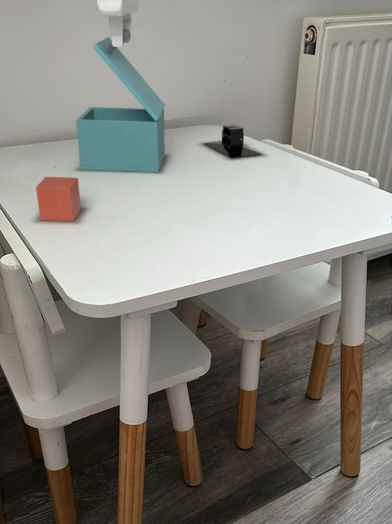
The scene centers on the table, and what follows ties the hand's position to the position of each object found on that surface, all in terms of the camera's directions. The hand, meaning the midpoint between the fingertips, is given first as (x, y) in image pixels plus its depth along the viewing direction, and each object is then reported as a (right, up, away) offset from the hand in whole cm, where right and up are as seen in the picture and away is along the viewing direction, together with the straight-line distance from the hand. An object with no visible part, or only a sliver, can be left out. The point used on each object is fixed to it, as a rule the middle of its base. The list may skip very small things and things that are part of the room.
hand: (121, 44), depth 97 cm
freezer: (-1, -17, +11) cm, 20 cm away
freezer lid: (+1, -5, +3) cm, 6 cm away
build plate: (+21, -11, +21) cm, 31 cm away
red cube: (-8, -33, -12) cm, 36 cm away
